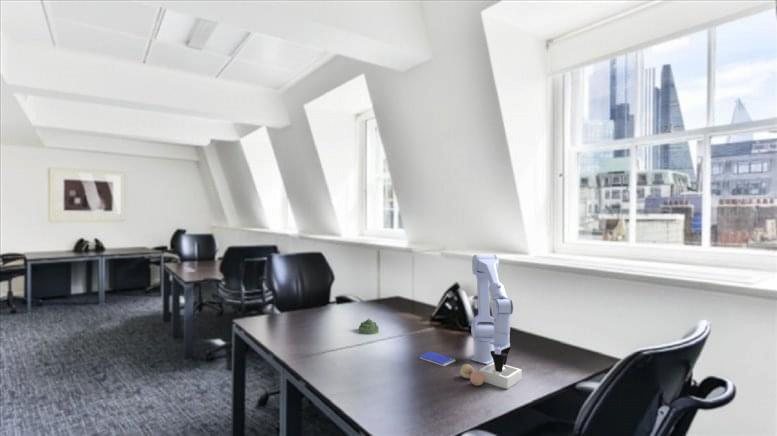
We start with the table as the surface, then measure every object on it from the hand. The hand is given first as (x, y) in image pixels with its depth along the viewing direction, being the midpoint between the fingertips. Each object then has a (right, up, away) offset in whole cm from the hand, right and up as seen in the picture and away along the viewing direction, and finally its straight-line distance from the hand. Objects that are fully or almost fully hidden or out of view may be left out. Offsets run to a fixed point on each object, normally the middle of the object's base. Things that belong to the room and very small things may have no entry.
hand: (500, 367), depth 153 cm
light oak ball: (-12, -4, +2) cm, 13 cm away
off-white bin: (0, -5, 0) cm, 5 cm away
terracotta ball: (-10, -5, -5) cm, 12 cm away
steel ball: (0, -4, 0) cm, 4 cm away
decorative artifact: (-52, -3, +58) cm, 78 cm away
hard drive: (-21, -5, +20) cm, 30 cm away
